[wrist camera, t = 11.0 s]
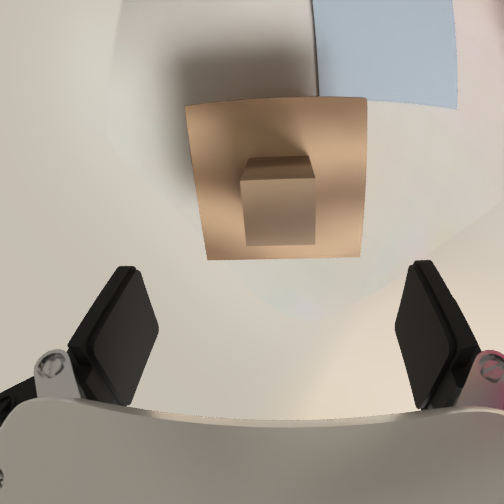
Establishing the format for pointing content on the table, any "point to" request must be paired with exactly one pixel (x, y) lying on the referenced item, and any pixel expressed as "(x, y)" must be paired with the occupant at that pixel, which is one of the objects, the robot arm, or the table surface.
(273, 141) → the lid
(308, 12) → the table surface
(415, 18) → the mat
